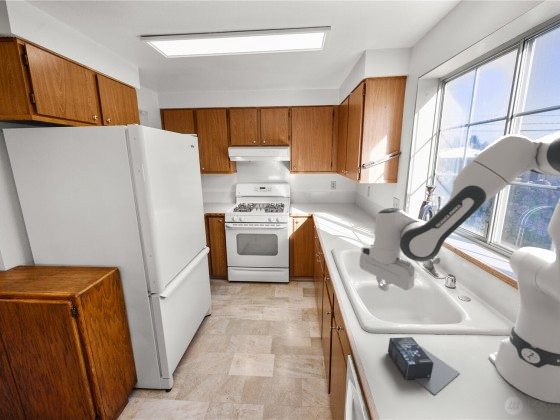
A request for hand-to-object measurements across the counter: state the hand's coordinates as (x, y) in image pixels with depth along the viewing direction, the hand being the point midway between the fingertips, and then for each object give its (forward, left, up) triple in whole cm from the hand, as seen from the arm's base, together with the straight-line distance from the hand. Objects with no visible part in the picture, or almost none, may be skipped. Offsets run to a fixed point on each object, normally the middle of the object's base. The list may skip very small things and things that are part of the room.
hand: (383, 289), depth 88 cm
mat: (+1, +19, -17) cm, 25 cm away
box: (+3, +10, -14) cm, 17 cm away
